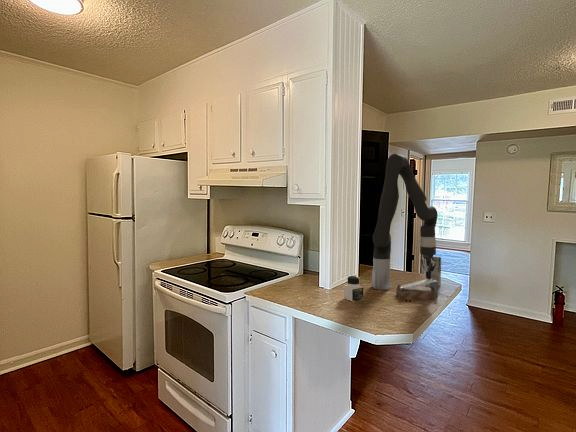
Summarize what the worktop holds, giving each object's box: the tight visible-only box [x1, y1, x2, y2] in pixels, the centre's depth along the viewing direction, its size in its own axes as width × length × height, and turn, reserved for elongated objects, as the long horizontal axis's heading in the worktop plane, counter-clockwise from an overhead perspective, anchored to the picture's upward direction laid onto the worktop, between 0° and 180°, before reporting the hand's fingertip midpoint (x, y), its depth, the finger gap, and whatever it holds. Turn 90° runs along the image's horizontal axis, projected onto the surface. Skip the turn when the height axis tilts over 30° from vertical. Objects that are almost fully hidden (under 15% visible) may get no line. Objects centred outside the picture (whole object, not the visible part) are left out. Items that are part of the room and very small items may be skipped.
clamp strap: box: [399, 277, 433, 290], centre depth 167 cm, size 17×4×2 cm, turn 90°
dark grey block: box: [430, 280, 439, 298], centre depth 168 cm, size 2×3×8 cm
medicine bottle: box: [343, 275, 364, 303], centre depth 165 cm, size 7×7×12 cm
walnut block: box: [395, 284, 436, 301], centre depth 168 cm, size 17×9×6 cm, turn 91°
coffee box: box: [425, 256, 442, 288], centre depth 187 cm, size 9×6×16 cm
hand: (428, 278), depth 167 cm, fingers closed
